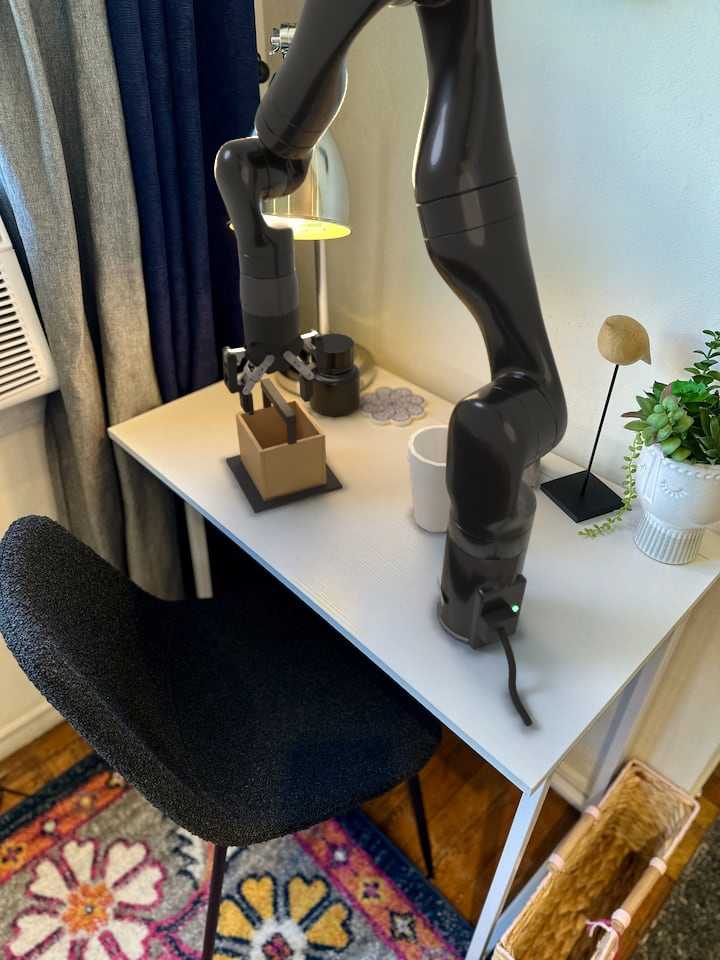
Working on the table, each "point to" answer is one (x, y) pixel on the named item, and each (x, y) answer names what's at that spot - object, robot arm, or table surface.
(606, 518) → the table surface
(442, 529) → the foam cup
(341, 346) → the ink bottle
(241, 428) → the handled storage bin
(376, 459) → the table surface
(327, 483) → the bin mat
